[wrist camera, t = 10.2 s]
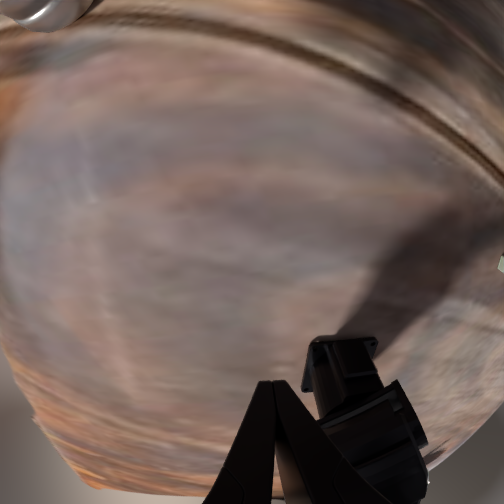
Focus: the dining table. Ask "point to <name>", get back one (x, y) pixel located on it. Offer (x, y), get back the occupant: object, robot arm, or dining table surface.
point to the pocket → (501, 264)
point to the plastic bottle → (44, 13)
